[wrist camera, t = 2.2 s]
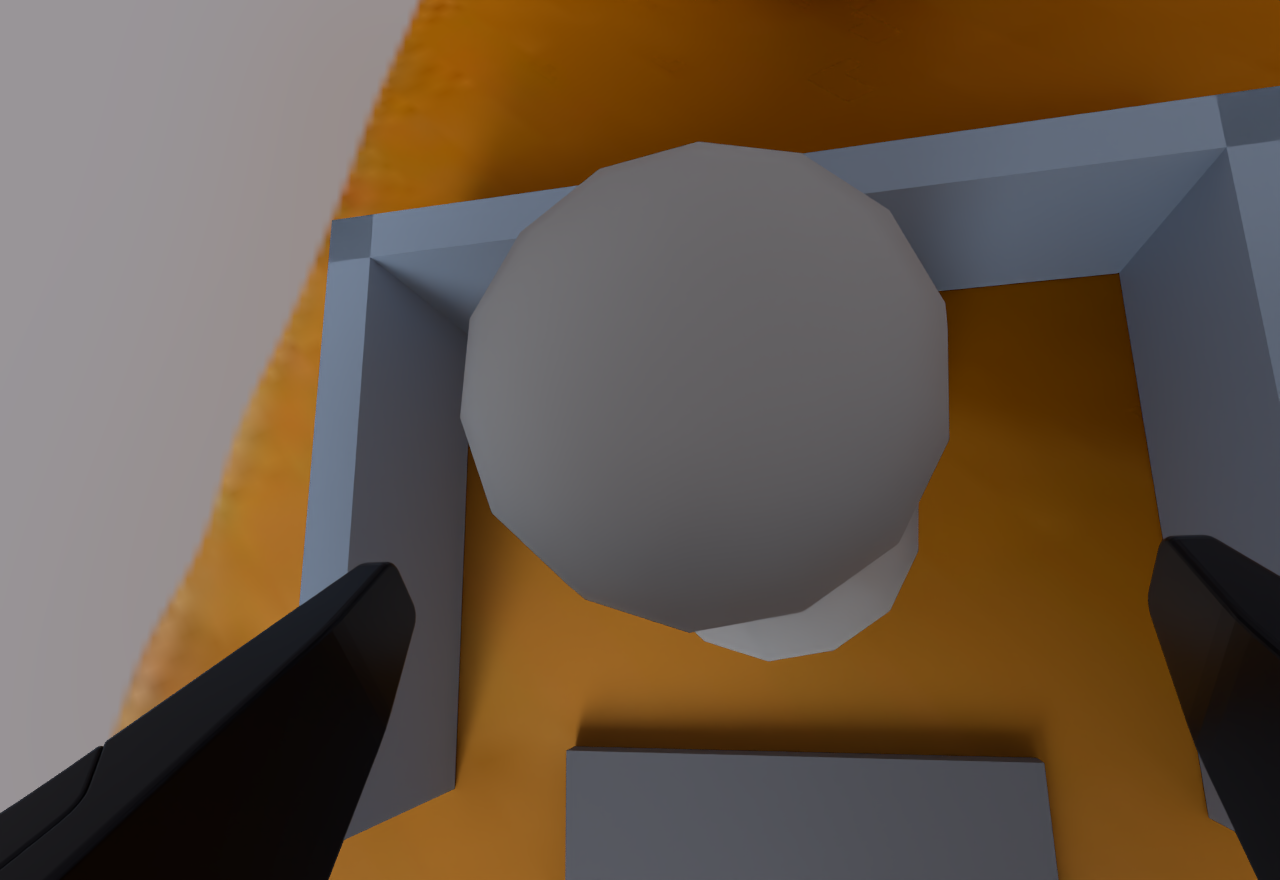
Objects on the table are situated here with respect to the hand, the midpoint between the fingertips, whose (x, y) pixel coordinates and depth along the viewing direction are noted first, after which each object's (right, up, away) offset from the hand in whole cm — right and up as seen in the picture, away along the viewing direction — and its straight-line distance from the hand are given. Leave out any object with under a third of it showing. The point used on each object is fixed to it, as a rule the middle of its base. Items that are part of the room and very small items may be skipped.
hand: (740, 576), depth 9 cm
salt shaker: (+2, 0, +9) cm, 9 cm away
